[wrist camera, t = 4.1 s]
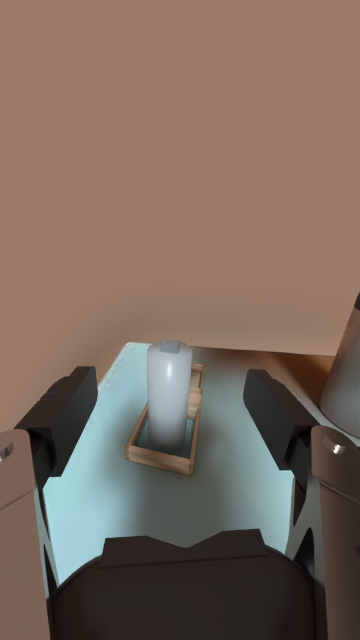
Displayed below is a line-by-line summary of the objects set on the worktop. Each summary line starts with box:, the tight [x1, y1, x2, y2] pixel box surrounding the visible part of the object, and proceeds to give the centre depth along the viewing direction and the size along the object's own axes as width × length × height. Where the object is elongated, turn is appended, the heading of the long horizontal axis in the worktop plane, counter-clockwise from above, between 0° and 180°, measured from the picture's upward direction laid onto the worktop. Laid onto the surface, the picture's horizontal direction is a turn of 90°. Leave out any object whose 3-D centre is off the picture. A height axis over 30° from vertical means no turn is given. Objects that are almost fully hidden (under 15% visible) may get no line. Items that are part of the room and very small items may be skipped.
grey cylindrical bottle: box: [147, 339, 192, 455], centre depth 23 cm, size 5×5×14 cm
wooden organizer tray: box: [125, 363, 206, 476], centre depth 30 cm, size 8×20×2 cm, turn 169°
